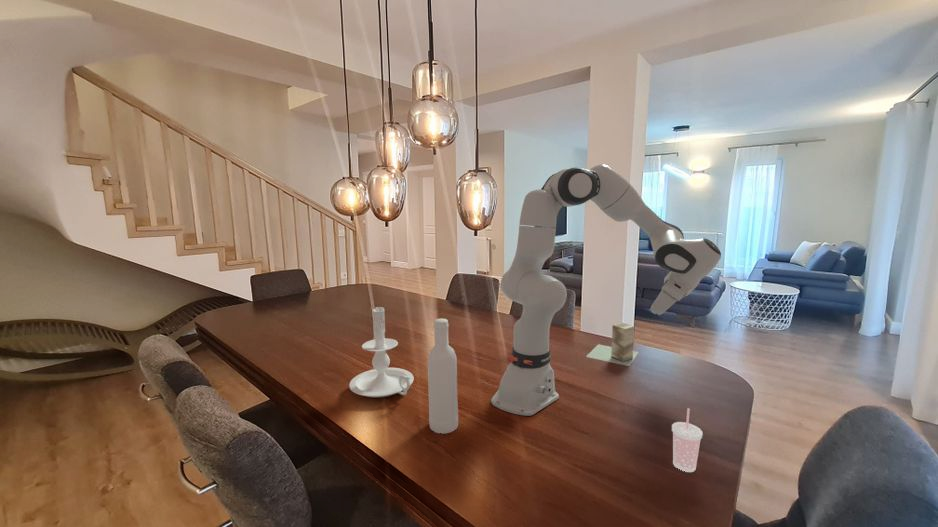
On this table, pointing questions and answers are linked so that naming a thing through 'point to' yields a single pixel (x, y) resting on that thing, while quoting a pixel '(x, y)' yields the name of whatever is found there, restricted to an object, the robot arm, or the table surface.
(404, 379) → the candlestick
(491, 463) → the table surface
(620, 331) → the block
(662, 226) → the robot arm
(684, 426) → the beverage cup
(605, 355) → the mat
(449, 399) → the bottle
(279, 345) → the table surface
